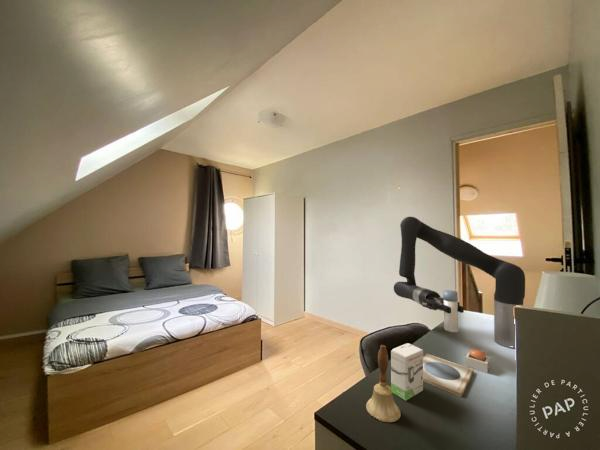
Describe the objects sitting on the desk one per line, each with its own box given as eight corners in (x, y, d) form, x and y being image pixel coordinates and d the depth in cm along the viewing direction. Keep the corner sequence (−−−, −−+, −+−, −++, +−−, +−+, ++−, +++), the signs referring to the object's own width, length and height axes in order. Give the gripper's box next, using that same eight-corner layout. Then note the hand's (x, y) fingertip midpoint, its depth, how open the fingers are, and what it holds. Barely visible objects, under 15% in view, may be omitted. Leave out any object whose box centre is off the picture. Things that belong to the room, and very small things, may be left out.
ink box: (406, 401, 65) (406, 357, 65) (390, 391, 69) (390, 349, 69) (423, 390, 69) (423, 349, 70) (407, 381, 73) (408, 342, 74)
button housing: (469, 359, 87) (468, 350, 87) (490, 366, 83) (490, 357, 83) (465, 365, 83) (465, 356, 83) (487, 373, 78) (487, 363, 79)
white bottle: (453, 327, 92) (453, 290, 92) (461, 332, 87) (460, 293, 88) (441, 327, 92) (440, 290, 93) (448, 332, 88) (447, 293, 88)
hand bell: (359, 402, 64) (360, 341, 64) (385, 396, 67) (386, 337, 67) (379, 426, 56) (380, 356, 57) (408, 418, 59) (408, 351, 59)
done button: (471, 353, 86) (471, 347, 86) (485, 357, 83) (485, 351, 83) (469, 357, 83) (469, 351, 83) (483, 361, 80) (483, 355, 80)
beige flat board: (427, 356, 89) (427, 353, 89) (473, 372, 79) (473, 368, 79) (408, 375, 77) (409, 371, 77) (461, 397, 67) (461, 392, 67)
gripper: (410, 289, 103) (438, 300, 86) (441, 288, 105) (474, 299, 88) (410, 307, 103) (438, 321, 86) (441, 305, 105) (474, 319, 88)
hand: (456, 310), depth 87 cm, fingers closed on white bottle, 4 cm apart
